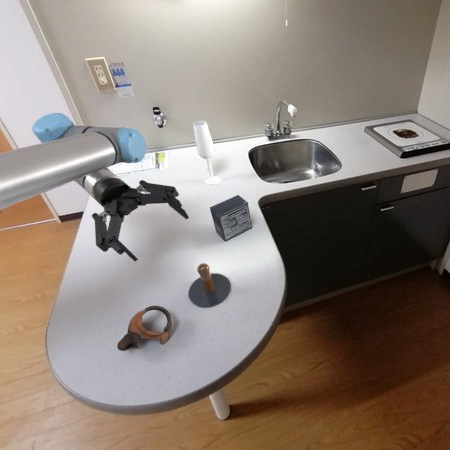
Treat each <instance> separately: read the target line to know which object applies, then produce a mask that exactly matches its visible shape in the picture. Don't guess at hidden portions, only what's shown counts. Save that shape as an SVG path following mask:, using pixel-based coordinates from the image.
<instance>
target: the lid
mask: <svg viewBox="0 0 450 450" xmlns="http://www.w3.org/2000/svg"><path fill="white" fill-rule="evenodd" d="M196 270H197V274H199V277H198V278H197V279H195V280H194V281H193V282H192V283H191V285H190V286H189V289H188V298H189V300H190V302H191V303H192V304H193V305H194V306H196V307H198V308H203V309H205V308H206V309H207V308H212V307H215V306H219V304H221V303H223V302H224V301H225V300H227V298H228V297H229V295H230V293H231V289H232V288H231V287H232V286H231V281H230V280H229V278H228V277H227V276H226V275H224V274H223V273H217V272H215V273H213V272H211V271H210V265H209V264H207V263H205V262H204V263H200V264H199V265H198V266H197V268H196Z"/></svg>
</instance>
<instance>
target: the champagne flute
mask: <svg viewBox="0 0 450 450" xmlns="http://www.w3.org/2000/svg"><path fill="white" fill-rule="evenodd" d="M192 128H193V133H194V140H195V148H196V153H197V156H199V157H200V158H202V159H203V160H206V163H207V168H208V171H209V177H207V178H205V179H204V184H206V185H209V186H215V185H217V184H219V183H221V181H222V178H221V177H220V176H217V175H214V172H213V169H212V168H213V167H212V163H211V159H212V158H213V157H214V155H215V153H216V148H215V145H214V141H213V139H212V135H211V132H210V128H209V125H208V123H207V121H206V120H196V121H193V122H192Z"/></svg>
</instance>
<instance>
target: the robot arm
mask: <svg viewBox="0 0 450 450" xmlns="http://www.w3.org/2000/svg"><path fill="white" fill-rule="evenodd" d="M31 130H32V133H33V134H34V135H35V137H36V138H37V139H38V141H39V142H40V143H36V144H32V145H28V146H24V147H20V148H16V149H10V150H5V151H3V152H2V151H1V152H0V211H2V210H5V209H7V208H9V207H12V206H14V205H17V204H20V203H22V202H24V201H27V200H29V199H33V198H34V197H38V196H39V195H42V194H44V193H45V194H46V193H47V192H49V191H52V190H54V189H58V188H59V187H61V186H64V185H66V184H69V183H72V182H75V183H76V184H78V185H79V186H80V187H81V188H82V189H83V190H84V191H85V192H86V193H87V194H88V195H90V196H91V197H92V199H94V200H95V201H96V202H97V203H98V204H99V205H100V206H101V207H102V208H103V211H101V212H100V213H97V212H93V213H92V214H91V217H92V219H93V220H94V236H95V246H96V247H97V248H98V249H100V250H101V251H102V252H103V253H105V252H108V251H109V249H112V250H113V251H115V252H116V254H117V255H123V254H124V253H125V254H126V255H127V256H128V257H129V258H130V259H131V260H133V262H137V261H138V260H139V258H138V257H136V255H134V254H133V252H132V251H131V250H130V249H128V248H127V247H126V246H125V244H124V243H122V242H121V241H120V239H119V238H120V234H121V230H122V229H121V228H122V224H123V223H124V221H125V216H129V215H130V214H131V213H132V212H133V211H135V210H137V209H139V207H143V206H147V205H156V204H159V205H160V204H167V205H168V206H169V207H170V208H171V209H173V210H174V211H175V212H176V213H178V214H179V215H180V216H181V217H183V218H184V219H185V220H188V219H189V218H190V216H189V214H188V213H187V211H186V210H185V209H184V208H183V204H182V203H181V201H180V200H179V199H178V198H177V197H179V196H180V193H179V192H178V190H177V188H176V187H175V186H172V185H167V184H166V185H165V184H159V183H151V182H147V181H146V180H144V179H141V180H139V181H138V184H139V185H138V186H137V187H136V188H134V187H131V186H130V185H128V183H126V182H125V181H124V180H122V179H121V178H120V177H119V176H118V175H116V174H115V173H114V172H113V171H112V170H111V169H109V167H112V166H115V165H117V164H120V163H121V164H123V163H125V164H137V163H140V162H141V161H143V160H144V158H145V156H146V152H147V145H146V140H145V138H144V136H143V134H142V133H141V132H140V131H139V130H137V129H135V128H128V127H125V126H120V127H111V126H108V127H107V126H92V125H75V123H74V122H73V120H71V118H70V117H69V116H67V115H66V114H64V113H62V112H52V113H49V114H45V115H43V116H41V117H39V118H38V119H36V121H35V122H33V125H32V127H31ZM108 216H109V221H108V220H107V219H108ZM107 222H108V225H107Z"/></svg>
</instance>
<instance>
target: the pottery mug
mask: <svg viewBox="0 0 450 450" xmlns="http://www.w3.org/2000/svg"><path fill="white" fill-rule="evenodd" d="M150 311H158V312H161V313H162V314H164V316H165V317H166V325H165V326H164V328H163V331H160V330H158V331H152V330H149V329H146V328H145V327H144V326H143V323H142V322H143V321H142V320H143V317H144V315H145V314H146V313H147V312H150ZM127 326H128V327H127V332H126V334H125V335H123V337H122V338H121V339H120V340H119V341H118V342H117V344H116V347H117V349H118V351H121V352H126V351H128V350H131V349H136V350H137V349H138V348H139V346H138V344H139V342H140V338H141V339H144V340H148V341H149V340H150V341H151V340H155V341H156V340H157V341H158V340H160V345H163V344H165V343H167V341H168V339H169V337H170V336H171V333H172V329H173V320H172V316H171V312H169V310H168V309H166V308H165V307H164V306H160V305H150V306H147V307H145V308H144V309H142V310H139V311H138V312H136V313H135V314H134V315H133V316H132V318H131V319H130V321H129V323H128V325H127Z"/></svg>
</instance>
